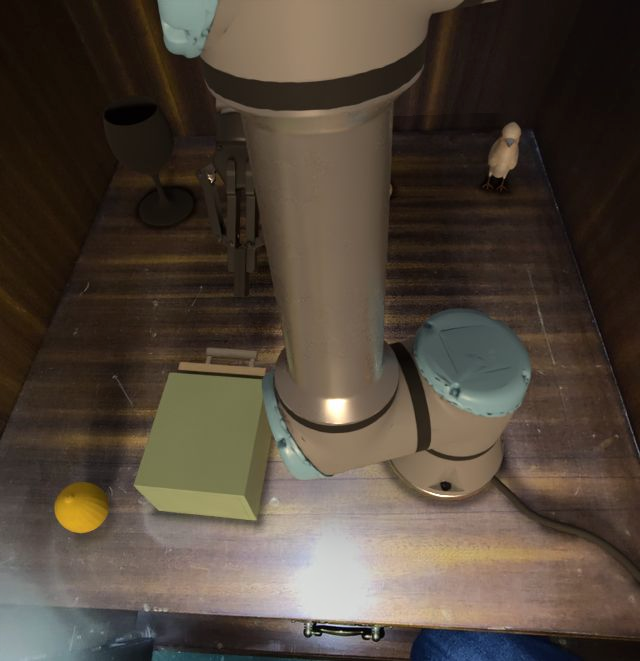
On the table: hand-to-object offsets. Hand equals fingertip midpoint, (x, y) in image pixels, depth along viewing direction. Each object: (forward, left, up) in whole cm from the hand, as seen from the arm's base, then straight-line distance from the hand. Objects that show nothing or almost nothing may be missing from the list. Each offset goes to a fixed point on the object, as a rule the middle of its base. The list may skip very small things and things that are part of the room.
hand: (241, 296), depth 71 cm
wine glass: (+35, -5, -10) cm, 37 cm away
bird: (-1, -54, -10) cm, 55 cm away
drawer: (-10, +11, -9) cm, 18 cm away
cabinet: (-14, +14, -10) cm, 22 cm away
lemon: (-10, +31, -10) cm, 34 cm away
